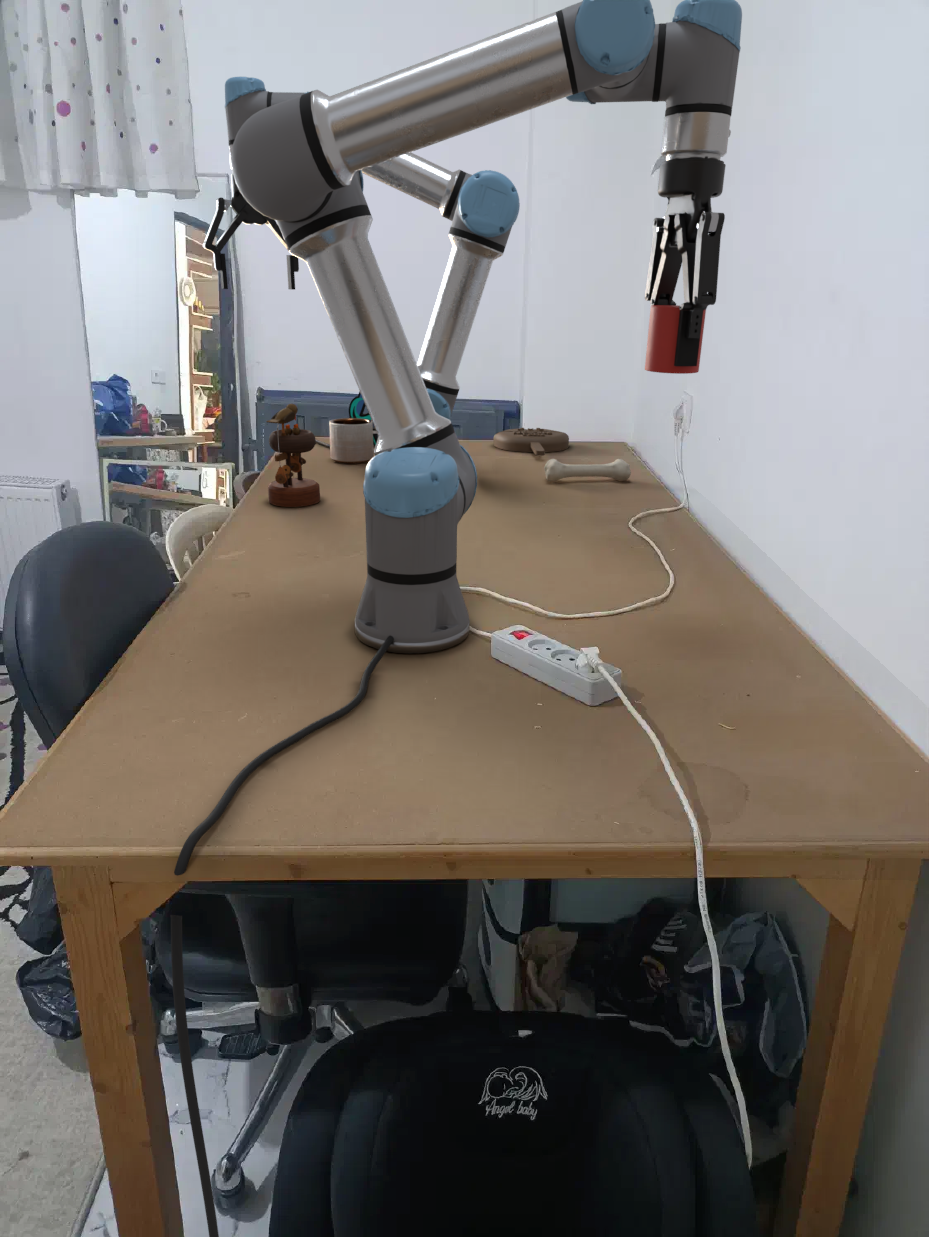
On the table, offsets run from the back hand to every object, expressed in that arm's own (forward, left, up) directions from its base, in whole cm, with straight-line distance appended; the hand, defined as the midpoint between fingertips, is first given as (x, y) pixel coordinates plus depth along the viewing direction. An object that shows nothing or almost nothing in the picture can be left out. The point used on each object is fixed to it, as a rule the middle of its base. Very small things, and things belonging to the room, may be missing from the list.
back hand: (258, 289), depth 172 cm
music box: (+14, +2, -41) cm, 43 cm away
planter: (-20, +25, -41) cm, 52 cm away
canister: (+94, +33, -7) cm, 100 cm away
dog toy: (+21, +68, -41) cm, 82 cm away
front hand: (+94, +32, -6) cm, 100 cm away
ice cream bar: (-15, +74, -41) cm, 86 cm away
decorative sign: (-37, +34, -41) cm, 65 cm away
